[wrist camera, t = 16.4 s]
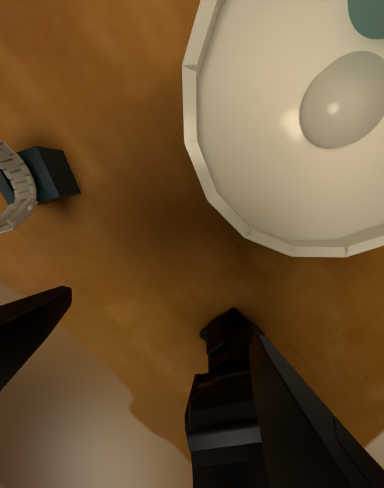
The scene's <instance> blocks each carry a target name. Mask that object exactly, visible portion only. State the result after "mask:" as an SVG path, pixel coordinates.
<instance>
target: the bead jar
mask: <svg viewBox="0 0 384 488" xmlns="http://www.w3.org/2000/svg"><path fill="white" fill-rule="evenodd" d="M348 13H349V17H350V20H351V23H352V25H353V26H354V28H355V29H356V31H357V32H358V33H360V34H361V35H362V36H364V37H367V38H369V39H384V0H348Z"/></svg>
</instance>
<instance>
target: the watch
mask: <svg viewBox="0 0 384 488" xmlns="http://www.w3.org/2000/svg"><path fill="white" fill-rule="evenodd" d="M14 152H15V151H14V150H13V149H12V148H11V147H10V146H9V145H7V144H6V143H5V142H3V141H2V140H1V139H0V191H1V193H2V195H3V196H4V198H5V200H6V202H7V203H8V205H9V206H8V207H7V209H6V210H5V211H4V212H3V213H2V214H1V215H0V233H3V232H6V231H9V230H12V229H14V228H16V227H17V226H19V225H20V224H21V223H22V222H24V221H25V220H26V219H27V218H28V217H29V216H30V215H31V213H32V212H33V210H34V209H35V207H36V205H40V204H43V203H47V202H51V201H54V200H58V199H62V198H65V197H69V196H73V195H77V194H80V193H81V192H80V190H79V188H78V185H77V183H76V181H75V179H74V176H73V174H72V172H71V169H70V167H69V165H68V162H67V160H66V158H65V155H64V153H63V151H62V150H56V149H50V148H44V147H38V146H35V147H32V148H29V149H26V150H23V151H20V152H17V153H14ZM12 153H13V154H12Z"/></svg>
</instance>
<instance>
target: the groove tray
mask: <svg viewBox="0 0 384 488" xmlns="http://www.w3.org/2000/svg"><path fill="white" fill-rule="evenodd" d="M182 83H183V115H184V144H185V146H186V149H187V151H188V154H189V156H190V158H191V161H192V163H193V166H194V168H195V171H196V173H197V176H198V178H199V181H200V183H201V186H202V188H203V191H204V193H205V196H206V198H207V201H208V202H209V203H210V204H211V205H212V206H213V207H214V208H215V209H216V210H217V211H218V212H219V213H220V214H221V215H222V216H223V217H224V218H225V219H226V220H227V221H228V222H229V223H230V224H231V225H232V226H233V227H234V228H235V229H236V230H237V231H238V232H239V233H240V234H241V235H242V236H243V237H244V238H246V239H249V240H251V241H254V242H256V243H258V244H261V245H263V246H266V247H268V248H271V249H273V250H276V251H278V252H281V253H283V254H286V255H288V256H291V257H348V256H351V255H355V254H358V253H361V252H364V251H367V250H370V249H374V248H377V247H380V246H383V245H384V39H369V38H367V37H364V36H362V35H361V34H360V33H358V32H357V31H356V29H355V28H354V26H353V25H352V23H351V20H350V17H349V13H348V0H201V1H200V4H199V8H198V11H197V15H196V18H195V22H194V25H193V29H192V32H191V36H190V39H189V43H188V46H187V50H186V53H185V57H184V60H183V64H182Z"/></svg>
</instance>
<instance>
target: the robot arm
mask: <svg viewBox="0 0 384 488" xmlns="http://www.w3.org/2000/svg"><path fill="white" fill-rule="evenodd" d="M71 302H72V289H71V288H70V287H66V286H59V287H56V288H53V289H50V290H47V291H44V292H41V293H38V294H35V295H32V296H29V297H26V298H23V299H20V300H17V301H14V302H11V303H8V304H5V305H1V306H0V391H1V390H2V388H3V387H4V386H5V385H6V384H7V383H8V382H9V380H10V379H11V378H12V377H13V376H14V375H15V374H16V372H17V371H18V370H19V369H20V368H21V367H22V366H23V364H24V363H25V362H26V361H27V360H28V359H29V358H30V357H31V355H32V354H33V353H34V352H35V351H36V350H37V349H38V347H39V346H40V345H41V344H42V342H44V341H45V339H46V338H47V337H48V336H49V334H50V333H51V332H52V330H53V329H54V328H55V326H56V325H57V324H58V322H59V321H60V319H61V318H62V317H63V315H64V314H65V313H66V311H67V310H68V308H69V307H70V305H71ZM232 312H235V313H232ZM203 334H204V335H203ZM200 337H201V338H202V339H203V340H205V341H206V342H207V355H208V371H209V373H205V374H196V375H195V377H194V381H193V385H192V389H191V393H190V396H189V400H188V404H187V409H186V413H185V431H186V436H187V442H188V446H189V449H190V452H191V459H192V470H193V488H384V470H383V468H382V467H381V466H380V465H379V464H378V463H377V462H376V461H375V460H374V459H373V458H372V457H371V456H370V455H369V453H368V452H366V450H365V449H364V448H363V447H362V446H361V445H360V444H359V443H358V442H357V440H356V439H355V438H354V437H353V436H352V435H351V434H350V433H349V431H348V430H347V429H346V428H345V427H344V426H343V425H342V424H341V422H340V421H339V420H338V419H337V418H336V417H335V416H334V415H333V413H332V412H331V411H330V410H329V409H328V408H327V406H326V405H325V404H324V403H323V402H322V401H321V400H320V398H319V397H318V396H317V395H316V394H315V393H314V391H313V390H312V389H311V388H310V387H309V386H308V385H307V383H306V382H305V381H304V380H303V379H302V378H301V377H300V375H299V374H298V373H297V372H296V371H295V370H294V369H293V367H292V366H291V365H290V364H289V363H288V362H287V360H286V359H285V358H284V357H283V356H282V355H281V354H280V352H279V351H278V350H277V349H276V348H275V347H274V346H273V344H272V343H271V342H270V341H269V340H268V339H267V338H266V337H265V334H264V333H263V332H262V331H260V330H259V329H258V328H257V327H256V326H255V325H254V324H253V323H251V322H250V321H249V320H248V319H247V318H246V317H245V316H244V315H242V314H241V313H240V312H239V311H238V310H237V309H235V308H232V309H230V310H229V311H228V312H226V313H225V314H224V315H222V316H221V317H219V318H217V319H216V320H215V321H213V322H212V323H211V324H209V325H208V326H207V327H206V328H204V329H203V330H202V331H201V332H200Z"/></svg>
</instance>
